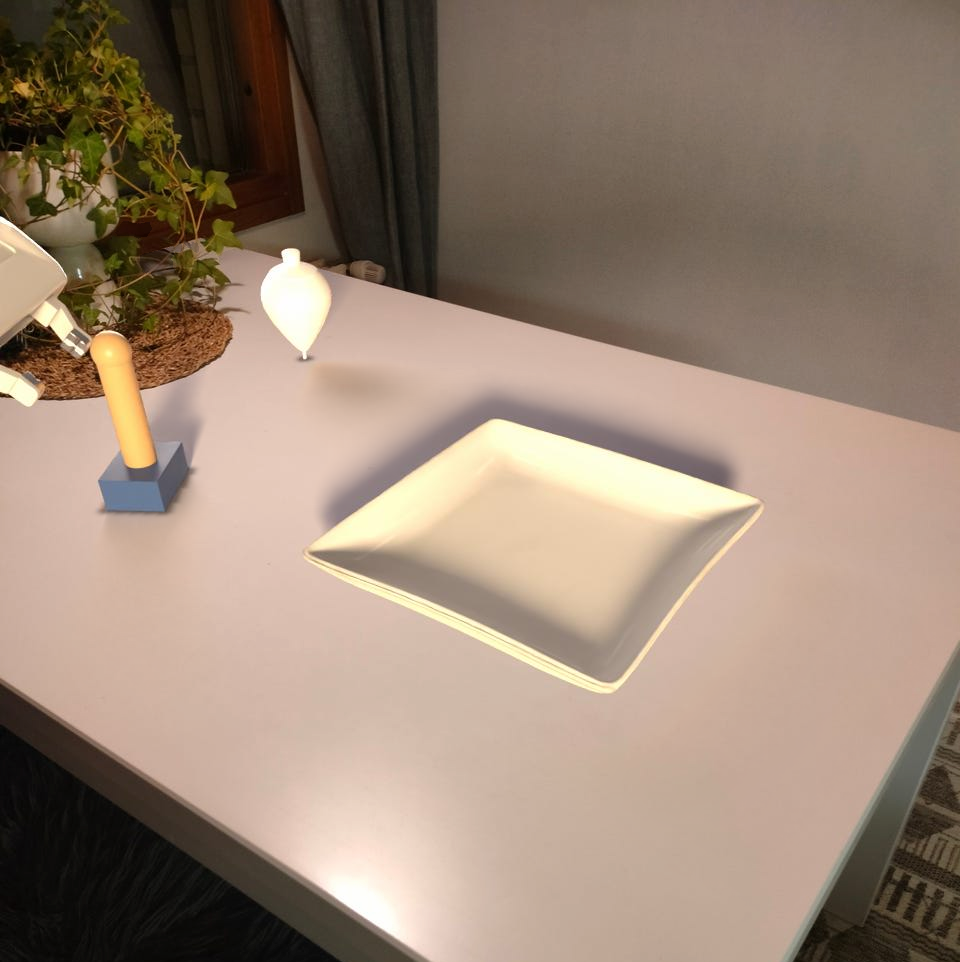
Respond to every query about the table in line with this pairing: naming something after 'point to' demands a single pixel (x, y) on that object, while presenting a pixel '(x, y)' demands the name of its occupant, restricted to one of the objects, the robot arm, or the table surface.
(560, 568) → the square plate
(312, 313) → the spinning top
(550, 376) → the table surface
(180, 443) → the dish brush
